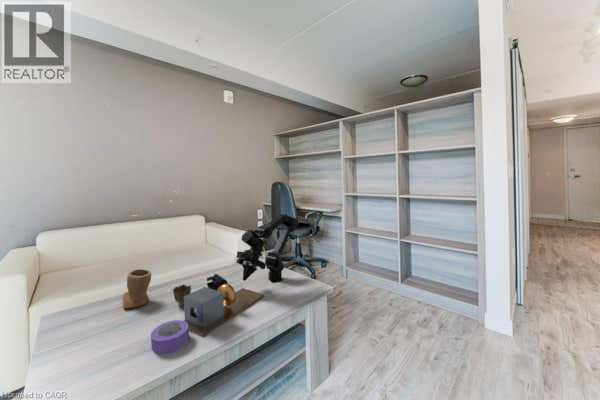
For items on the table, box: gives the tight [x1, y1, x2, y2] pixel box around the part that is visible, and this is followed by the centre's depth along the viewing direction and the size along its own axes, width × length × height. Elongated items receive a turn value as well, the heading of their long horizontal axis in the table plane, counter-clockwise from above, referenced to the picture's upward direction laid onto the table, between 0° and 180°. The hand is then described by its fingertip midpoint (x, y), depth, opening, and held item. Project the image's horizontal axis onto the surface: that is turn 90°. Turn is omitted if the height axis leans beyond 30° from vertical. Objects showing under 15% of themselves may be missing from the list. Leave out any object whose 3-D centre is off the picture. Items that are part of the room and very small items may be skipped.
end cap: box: [206, 273, 229, 291], centre depth 131 cm, size 10×7×7 cm
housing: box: [183, 286, 265, 338], centre depth 111 cm, size 36×14×12 cm, turn 150°
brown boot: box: [121, 268, 152, 309], centre depth 119 cm, size 15×12×15 cm
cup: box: [172, 284, 192, 307], centre depth 116 cm, size 8×7×8 cm
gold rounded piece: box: [193, 283, 236, 315], centre depth 105 cm, size 17×9×9 cm, turn 150°
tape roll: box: [150, 319, 190, 355], centre depth 89 cm, size 12×12×5 cm
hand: (243, 280), depth 122 cm, fingers closed
